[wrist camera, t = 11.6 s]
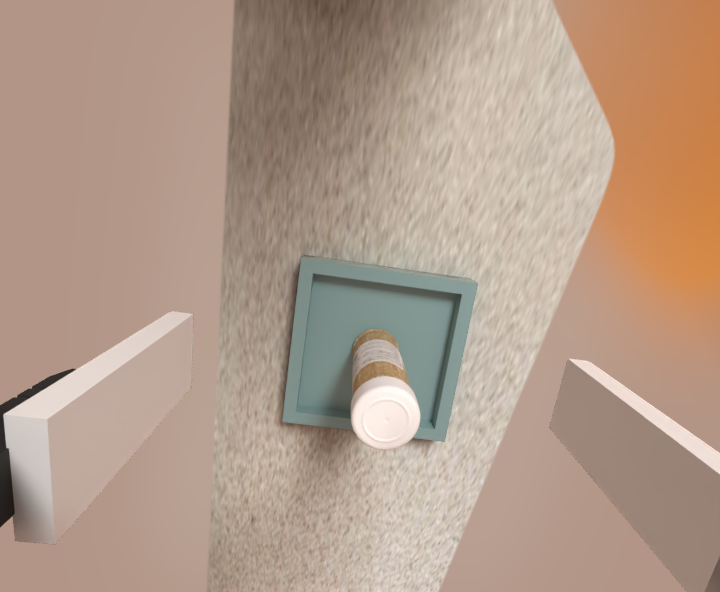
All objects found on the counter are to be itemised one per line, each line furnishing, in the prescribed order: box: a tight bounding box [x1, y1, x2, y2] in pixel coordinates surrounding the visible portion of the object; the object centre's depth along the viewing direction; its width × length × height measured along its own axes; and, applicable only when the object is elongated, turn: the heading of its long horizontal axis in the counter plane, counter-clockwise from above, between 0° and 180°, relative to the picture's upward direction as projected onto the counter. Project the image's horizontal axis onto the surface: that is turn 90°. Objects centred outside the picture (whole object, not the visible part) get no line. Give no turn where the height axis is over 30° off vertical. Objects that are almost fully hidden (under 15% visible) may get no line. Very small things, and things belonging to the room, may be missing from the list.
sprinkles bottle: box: [351, 329, 420, 450], centre depth 32 cm, size 5×5×14 cm
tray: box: [282, 255, 478, 442], centre depth 38 cm, size 16×16×2 cm
